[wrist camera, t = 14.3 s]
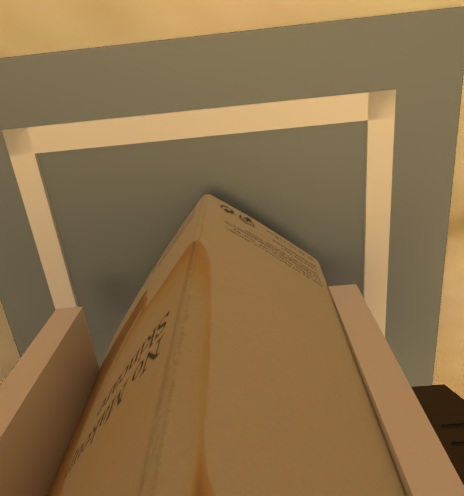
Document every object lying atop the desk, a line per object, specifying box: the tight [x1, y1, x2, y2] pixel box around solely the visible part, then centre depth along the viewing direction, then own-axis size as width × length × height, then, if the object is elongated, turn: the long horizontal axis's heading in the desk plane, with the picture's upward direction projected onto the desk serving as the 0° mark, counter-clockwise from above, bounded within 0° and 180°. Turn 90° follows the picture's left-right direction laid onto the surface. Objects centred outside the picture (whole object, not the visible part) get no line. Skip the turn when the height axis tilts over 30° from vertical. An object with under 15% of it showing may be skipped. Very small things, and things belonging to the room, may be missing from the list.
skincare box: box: [47, 194, 406, 496], centre depth 9 cm, size 6×4×12 cm
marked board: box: [0, 6, 464, 387], centre depth 16 cm, size 16×16×1 cm
